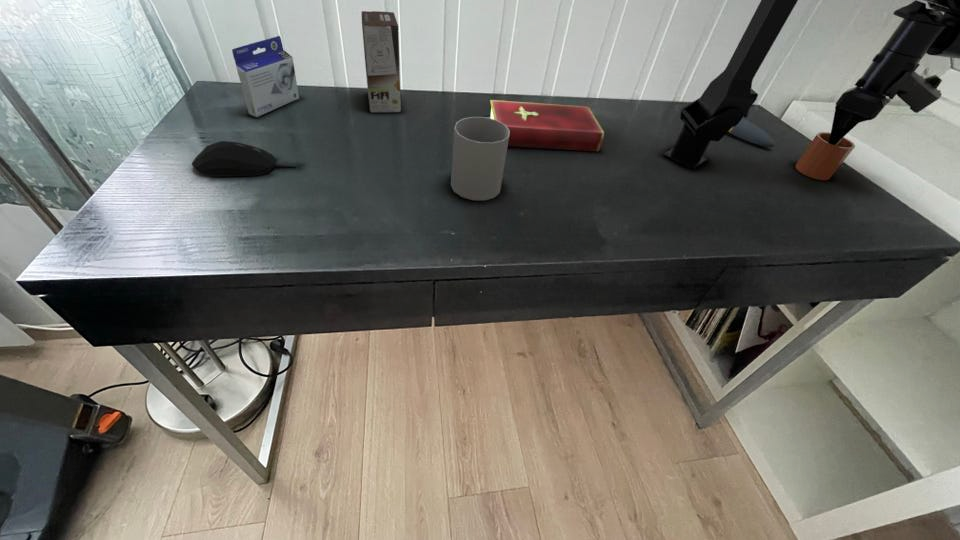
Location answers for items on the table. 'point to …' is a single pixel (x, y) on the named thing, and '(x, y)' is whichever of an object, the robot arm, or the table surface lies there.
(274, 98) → the ink box
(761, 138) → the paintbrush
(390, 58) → the coffee box
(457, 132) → the cup
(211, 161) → the gaming mouse
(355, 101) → the table surface
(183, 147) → the table surface
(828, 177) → the pen cup
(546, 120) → the hardcover book
